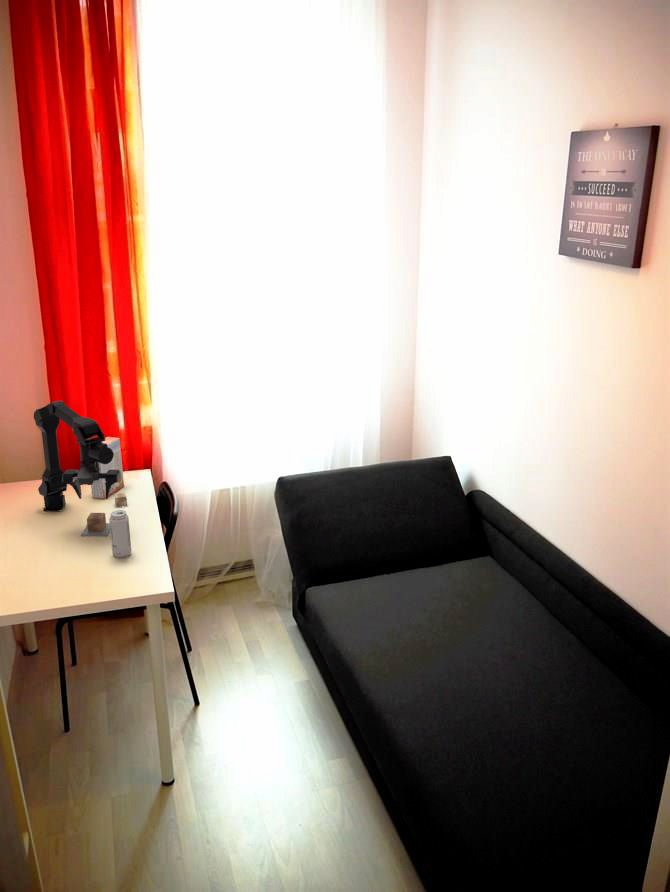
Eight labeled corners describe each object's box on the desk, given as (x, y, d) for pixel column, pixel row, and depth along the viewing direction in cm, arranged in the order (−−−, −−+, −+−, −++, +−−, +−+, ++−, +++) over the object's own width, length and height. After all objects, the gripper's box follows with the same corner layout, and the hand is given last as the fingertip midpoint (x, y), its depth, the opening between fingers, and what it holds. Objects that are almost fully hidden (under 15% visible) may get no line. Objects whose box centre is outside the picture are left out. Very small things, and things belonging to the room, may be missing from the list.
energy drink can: (111, 551, 248) (107, 510, 243) (130, 549, 250) (127, 508, 245) (113, 560, 243) (109, 518, 238) (132, 557, 245) (128, 515, 240)
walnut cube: (88, 531, 261) (86, 518, 259) (92, 525, 266) (90, 512, 264) (102, 531, 261) (101, 518, 259) (106, 525, 266) (105, 512, 264)
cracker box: (111, 484, 302) (107, 435, 295) (124, 486, 301) (120, 437, 294) (91, 497, 290) (85, 447, 283) (104, 500, 288) (99, 449, 281)
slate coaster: (80, 536, 259) (80, 534, 259) (88, 524, 267) (88, 523, 267) (106, 536, 259) (106, 534, 259) (113, 524, 268) (113, 523, 267)
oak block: (116, 507, 282) (115, 498, 280) (115, 503, 285) (114, 494, 284) (127, 506, 283) (126, 496, 282) (126, 502, 287) (125, 492, 285)
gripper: (54, 465, 247) (59, 508, 252) (111, 465, 247) (114, 508, 253) (64, 453, 257) (69, 494, 263) (119, 453, 258) (123, 495, 263)
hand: (93, 498), depth 260 cm, fingers open, 9 cm apart
